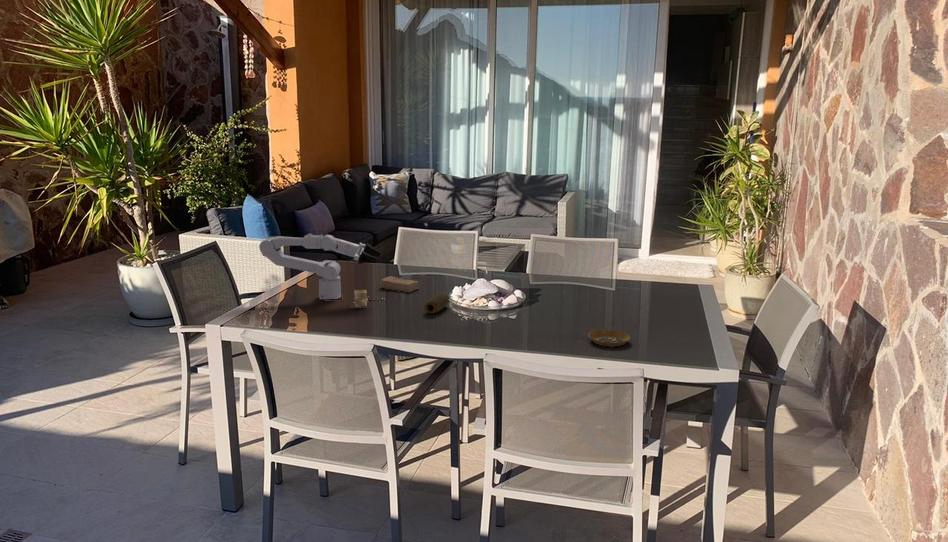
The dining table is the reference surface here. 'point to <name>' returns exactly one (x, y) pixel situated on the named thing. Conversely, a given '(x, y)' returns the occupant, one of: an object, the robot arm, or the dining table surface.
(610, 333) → the plant saucer
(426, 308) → the brown hollow tube
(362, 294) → the birch block
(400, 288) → the brick
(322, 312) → the dining table surface
